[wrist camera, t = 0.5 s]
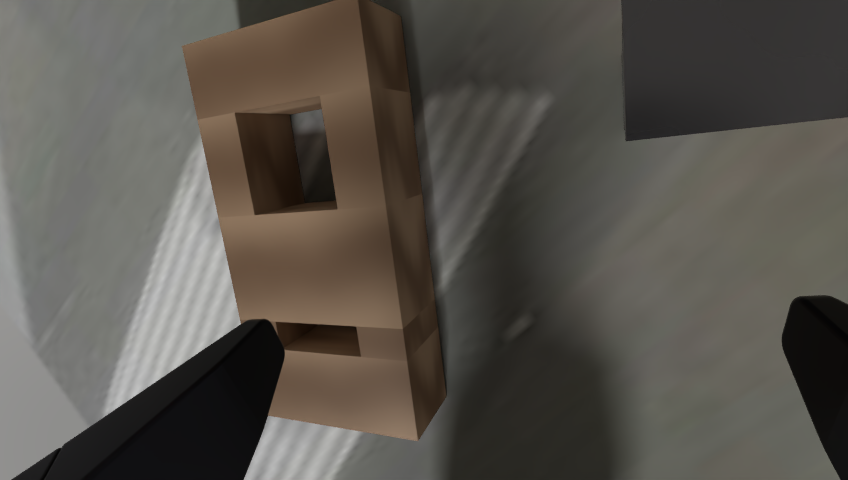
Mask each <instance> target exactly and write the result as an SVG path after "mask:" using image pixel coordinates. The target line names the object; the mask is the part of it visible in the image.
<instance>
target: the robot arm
mask: <svg viewBox="0 0 848 480" xmlns="http://www.w3.org/2000/svg"><path fill="white" fill-rule="evenodd" d="M782 347H783V351H784V354H785V356H786V358H787V361H788V363H789V366H790V368H791V371H792V373H793V375H794V378H795V380H796V383H797V385H798V388H799V390H800V393H801V395H802V397H803V400H804V402H805V405H806V407H807V410H808V412H809V414H810V417H811V419H812V422H813V424H814V427H815V429H816V432H817V434H818V436H819V438H820V441H821V443H822V445H823V447H824V449H825V451H826V453H827V455H828V457H829V459H830V461H831V463H832V465H833V467H834V468H835V470H836V472H837V474H838V476H839V477H840V479H841V480H848V304H846V303H844V302H842V301H840V300H838V299H836V298H834V297H831V296H826V295H819V296H800V297H797V298H795V299H794V300H793V301H792V303H791V305H790V308H789V312H788V316H787V319H786V323H785V327H784V330H783V334H782ZM284 359H285V349H284V346H283V344H282V342H281V340H280V338H279V336H278V334H277V332H276V331H275V329H274V327H273V325H272V323H271V322H270V321H269V320H268V319H250V320H247V321H245V322H244V323H242V324H241V325H239V326H238V327H236V328H235V329H233V330H232V331H230V332H229V333H227V334H226V335H224V336H223V337H222V338H220V339H219V340H217V341H216V342H214V343H213V344H211V345H210V346H208V347H207V348H205V349H204V350H202V351H201V352H199V353H198V354H196V355H195V356H194V357H192V358H191V359H189V360H188V361H186V362H185V363H183V364H182V365H180V366H179V367H177V368H176V369H174V370H173V371H171V372H170V373H168V374H167V375H166V376H164V377H163V378H161V379H160V380H158V381H157V382H155V383H154V384H152V385H151V386H149V387H148V388H146V389H145V390H143V391H142V392H140V393H139V394H138V395H136V396H135V397H133V398H132V399H130V400H129V401H127V402H126V403H124V404H123V405H121V406H120V407H118V408H117V409H115V410H114V411H113V412H111V413H110V414H108V415H107V416H105V417H104V418H102V419H101V420H99V421H98V422H96V423H95V424H93V425H92V426H90V427H89V428H87V429H86V430H85V431H83V432H82V433H80V434H79V435H77V436H76V437H74V438H73V439H71V440H70V441H68V442H67V443H65V444H64V445H63V446H62V448H58V449H56V450H55V451H54V452H52V453H51V454H49V455H48V456H46V457H45V458H43V459H42V460H40V461H39V462H37V463H36V464H34V465H33V466H31V467H30V468H28V469H27V470H25V471H24V472H22V473H21V474H19V475H18V476H16V477H15V478H13V479H12V480H244V477H245V475H246V472H247V470H248V467H249V465H250V462H251V460H252V457H253V455H254V452H255V450H256V447H257V445H258V443H259V440H260V437H261V435H262V432H263V429H264V426H265V423H266V420H267V417H268V413H269V410H270V407H271V403H272V400H273V396H274V393H275V390H276V386H277V383H278V379H279V376H280V373H281V369H282V366H283V362H284Z"/></svg>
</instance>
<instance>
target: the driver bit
mask: <svg viewBox="0 0 848 480" xmlns="http://www.w3.org/2000/svg"><path fill="white" fill-rule="evenodd" d="M621 5H622V84H623V118H624V130H625V140H626V141H632V140H641V139H651V138H660V137H669V136H678V135H687V134H696V133H706V132H715V131H724V130H733V129H742V128H752V127H761V126H770V125H779V124H788V123H798V122H807V121H816V120H825V119H834V118H844V117H848V0H621Z"/></svg>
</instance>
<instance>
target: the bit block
mask: <svg viewBox="0 0 848 480" xmlns="http://www.w3.org/2000/svg"><path fill="white" fill-rule="evenodd" d="M182 48H183V53H184V58H185V62H186V67H187V72H188V76H189V81H190V86H191V91H192V95H193V100H194V105H195V109H196V114H197V119H198V124H199V128H200V133H201V138H202V142H203V147H204V152H205V157H206V161H207V166H208V171H209V175H210V180H211V185H212V189H213V194H214V199H215V204H216V208H217V213H218V218H219V222H220V227H221V232H222V237H223V241H224V246H225V251H226V255H227V260H228V265H229V270H230V274H231V279H232V284H233V288H234V293H235V298H236V302H237V307H238V312H239V317H240V321H241V324H242V323H244V322H245V321H247V320H250V319H268V320H269V321H270V322H271V323H272V325H273V327H274V329H275V331H276V332H277V334H278V336H279V338H280V340H281V342H282V344H283V346H284V349H285V359H284V362H283V366H282V369H281V373H280V376H279V379H278V383H277V386H276V390H275V393H274V396H273V400H272V403H271V407H270V410H269V413H268V416H274V417H280V418H286V419H291V420H297V421H303V422H309V423H315V424H321V425H327V426H332V427H338V428H344V429H350V430H356V431H362V432H368V433H374V434H379V435H385V436H391V437H397V438H403V439H409V440H415V441H418V440H419V439H420V437H421V436H422V434H423V432H424V431H425V429H426V428H427V426H428V425H429V423H430V421H431V420H432V418H433V417H434V415H435V414H436V412H437V410H438V409H439V407H440V406H441V404H442V403H443V401H444V399H445V398H446V388H445V380H444V371H443V363H442V355H441V346H440V338H439V330H438V321H437V313H436V304H435V296H434V288H433V279H432V271H431V263H430V254H429V246H428V238H427V229H426V221H425V213H424V204H423V196H422V187H421V179H420V171H419V162H418V154H417V146H416V137H415V129H414V121H413V112H412V104H411V96H410V87H409V79H408V71H407V62H406V54H405V45H404V37H403V29H402V20H401V16H399V15H397V14H395V13H394V12H392V11H390V10H388V9H386V8H384V7H382V6H380V5H378V4H376V3H374V2H372V1H370V0H335V1H331V2H328V3H325V4H321V5H318V6H315V7H311V8H308V9H304V10H301V11H298V12H294V13H291V14H288V15H284V16H281V17H278V18H274V19H271V20H268V21H264V22H261V23H258V24H254V25H251V26H247V27H244V28H241V29H237V30H234V31H231V32H227V33H224V34H221V35H217V36H214V37H211V38H207V39H204V40H201V41H197V42H194V43H191V44H187V45H184V46H182ZM318 109H322V113H323V119H324V126H325V132H326V138H327V145H328V151H329V157H330V164H331V170H332V176H333V183H334V189H335V195H336V201H324V202H311V203H305V201H304V196H303V190H302V184H301V178H300V172H299V167H298V161H297V155H296V149H295V143H294V138H293V132H292V126H291V120H290V114H296V113H301V112H307V111H312V110H318Z"/></svg>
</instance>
